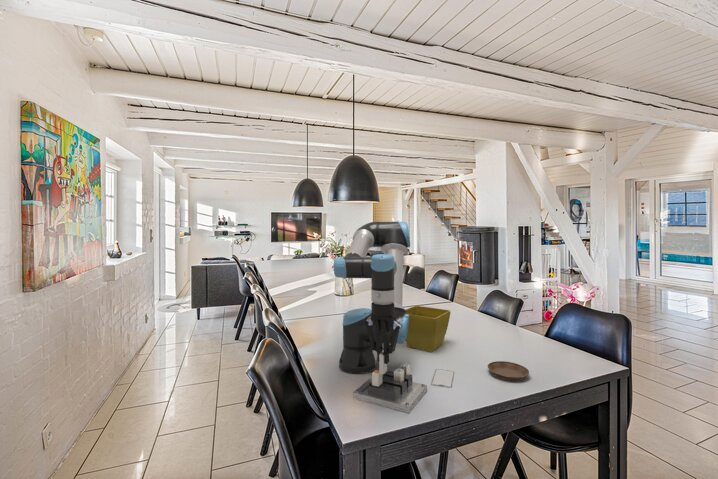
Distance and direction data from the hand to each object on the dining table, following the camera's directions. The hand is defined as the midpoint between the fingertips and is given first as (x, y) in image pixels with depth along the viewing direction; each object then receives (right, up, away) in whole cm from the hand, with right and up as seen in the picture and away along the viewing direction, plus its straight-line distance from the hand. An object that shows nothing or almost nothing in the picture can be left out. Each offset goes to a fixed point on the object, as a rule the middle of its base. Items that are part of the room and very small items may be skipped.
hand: (383, 372), depth 119 cm
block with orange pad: (-2, -4, +1) cm, 5 cm away
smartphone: (+24, -9, +17) cm, 31 cm away
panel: (+3, -9, +5) cm, 11 cm away
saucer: (+50, -9, +20) cm, 54 cm away
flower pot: (+24, -7, +53) cm, 59 cm away
